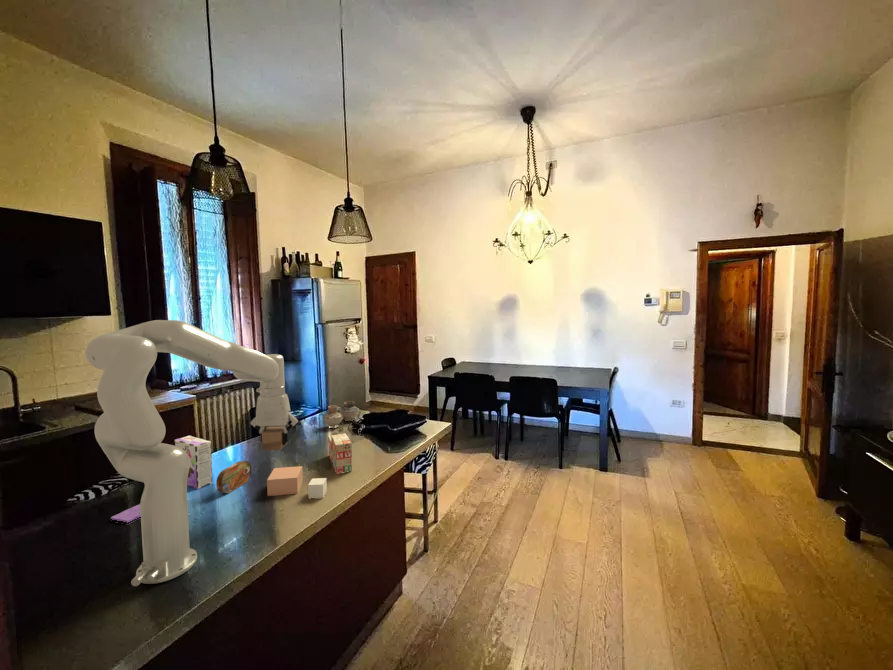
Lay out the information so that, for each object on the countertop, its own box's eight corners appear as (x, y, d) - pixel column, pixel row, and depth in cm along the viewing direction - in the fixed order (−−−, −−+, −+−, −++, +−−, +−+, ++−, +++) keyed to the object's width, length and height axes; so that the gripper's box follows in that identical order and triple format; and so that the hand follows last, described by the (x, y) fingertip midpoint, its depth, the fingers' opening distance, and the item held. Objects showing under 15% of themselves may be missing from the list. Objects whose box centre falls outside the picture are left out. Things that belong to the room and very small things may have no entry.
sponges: (167, 505, 129) (167, 500, 129) (127, 526, 117) (126, 520, 117) (152, 503, 131) (151, 497, 131) (110, 522, 119) (110, 516, 119)
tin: (222, 497, 134) (221, 474, 133) (215, 496, 134) (213, 473, 134) (252, 478, 149) (251, 457, 148) (245, 478, 149) (244, 456, 149)
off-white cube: (323, 498, 133) (322, 484, 133) (308, 498, 133) (308, 484, 133) (326, 491, 138) (326, 478, 138) (312, 492, 138) (312, 478, 138)
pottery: (319, 429, 209) (318, 407, 208) (347, 417, 232) (347, 397, 231) (336, 431, 205) (335, 409, 204) (363, 419, 228) (363, 399, 227)
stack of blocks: (328, 456, 171) (327, 428, 171) (342, 453, 174) (342, 427, 173) (336, 474, 152) (335, 444, 151) (352, 472, 155) (351, 442, 154)
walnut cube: (281, 449, 128) (280, 432, 127) (262, 450, 127) (261, 432, 127) (287, 443, 134) (286, 426, 133) (269, 443, 133) (269, 426, 133)
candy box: (175, 481, 146) (173, 439, 145) (192, 475, 151) (190, 434, 150) (197, 489, 140) (194, 445, 138) (213, 483, 145) (211, 440, 144)
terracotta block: (297, 493, 137) (297, 477, 136) (267, 496, 135) (267, 479, 135) (302, 481, 147) (302, 466, 146) (274, 483, 145) (274, 468, 144)
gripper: (241, 394, 125) (243, 448, 126) (295, 393, 126) (297, 447, 127) (251, 389, 132) (254, 440, 134) (302, 388, 133) (304, 439, 135)
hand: (275, 443), depth 130 cm, fingers closed on walnut cube, 6 cm apart
